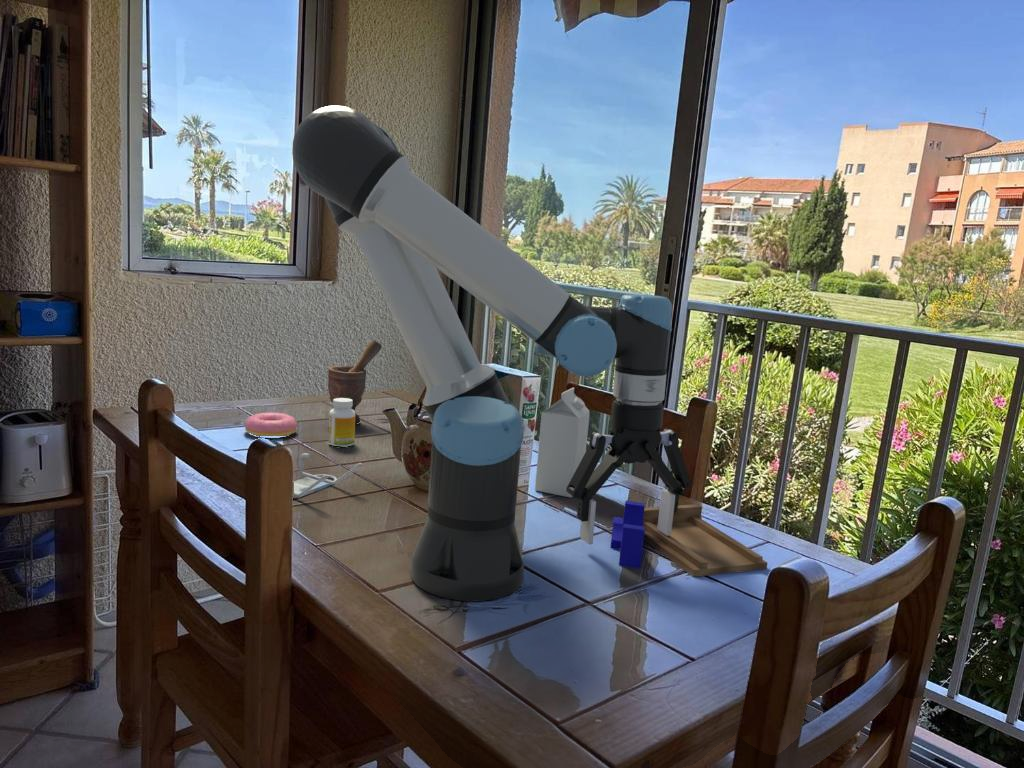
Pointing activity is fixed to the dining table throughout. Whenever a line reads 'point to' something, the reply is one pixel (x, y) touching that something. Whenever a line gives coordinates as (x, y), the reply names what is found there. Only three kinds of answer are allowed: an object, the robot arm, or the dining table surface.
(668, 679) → the dining table surface
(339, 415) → the supplement bottle
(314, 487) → the wall mount rack
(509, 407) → the robot arm
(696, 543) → the tray
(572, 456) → the milk carton
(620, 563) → the blue stepped block
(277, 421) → the doughnut
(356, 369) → the mortar and pestle
